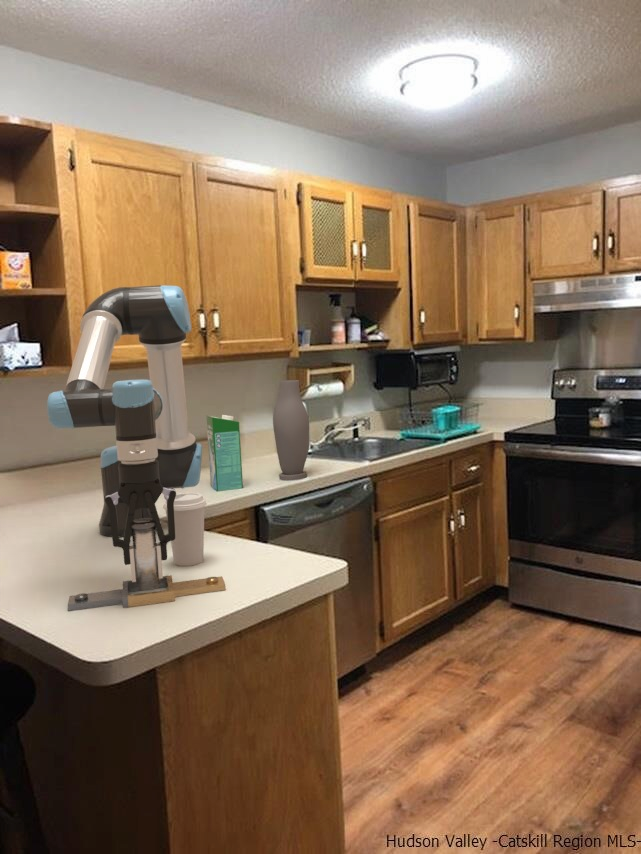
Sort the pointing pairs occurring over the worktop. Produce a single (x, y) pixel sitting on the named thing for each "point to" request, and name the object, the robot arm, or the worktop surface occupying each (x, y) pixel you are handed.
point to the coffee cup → (188, 528)
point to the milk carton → (224, 453)
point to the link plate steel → (107, 596)
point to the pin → (145, 553)
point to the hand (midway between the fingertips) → (147, 577)
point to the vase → (291, 431)
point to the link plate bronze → (177, 590)
